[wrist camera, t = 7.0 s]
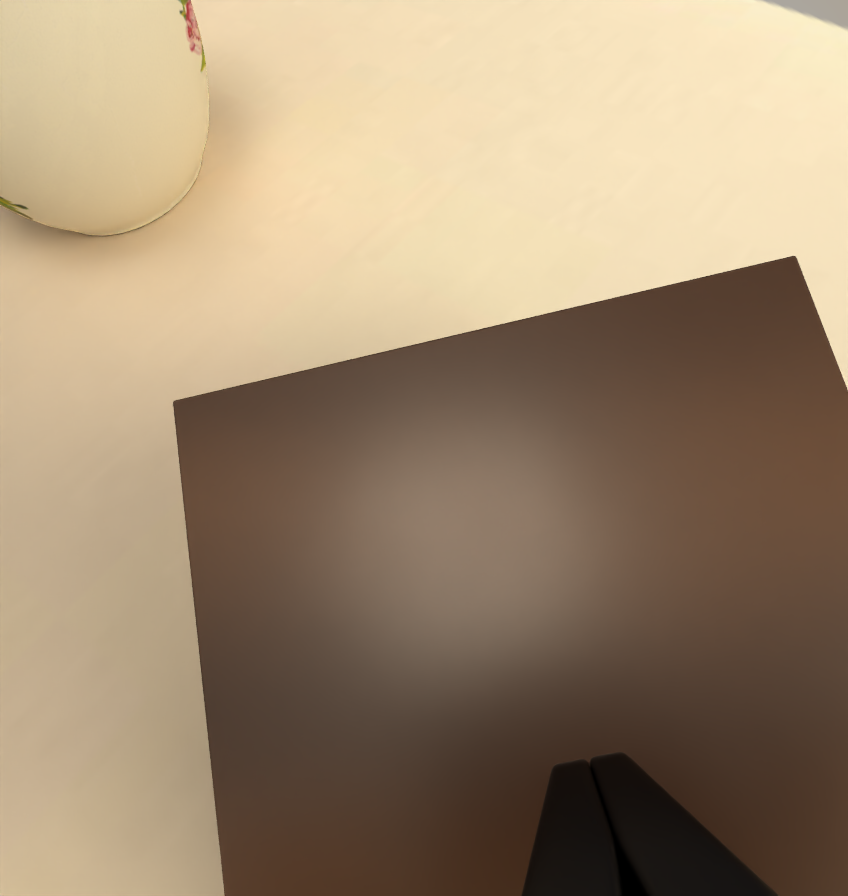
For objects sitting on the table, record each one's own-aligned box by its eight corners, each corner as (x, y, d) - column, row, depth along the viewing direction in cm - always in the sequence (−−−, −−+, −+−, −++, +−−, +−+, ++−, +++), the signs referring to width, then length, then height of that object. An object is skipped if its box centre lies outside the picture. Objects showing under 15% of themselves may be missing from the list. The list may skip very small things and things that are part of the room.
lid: (190, 414, 14) (171, 399, 13) (779, 277, 13) (796, 253, 12) (280, 1225, 10) (262, 1271, 10) (1089, 1098, 10) (1138, 1136, 9)
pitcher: (136, 6, 35) (-82, -412, 23) (337, 205, 28) (168, -270, 15) (-65, 126, 34) (-414, -257, 22) (88, 373, 26) (-323, -9, 14)
